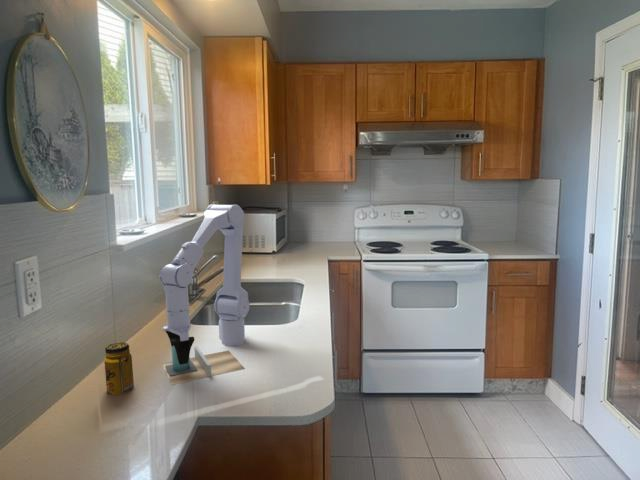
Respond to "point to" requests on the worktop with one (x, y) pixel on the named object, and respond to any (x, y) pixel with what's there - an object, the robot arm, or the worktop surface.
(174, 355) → the peg
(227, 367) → the board
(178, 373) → the pad
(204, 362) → the fence
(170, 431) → the worktop surface
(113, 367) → the condiment
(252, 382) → the worktop surface
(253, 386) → the worktop surface
